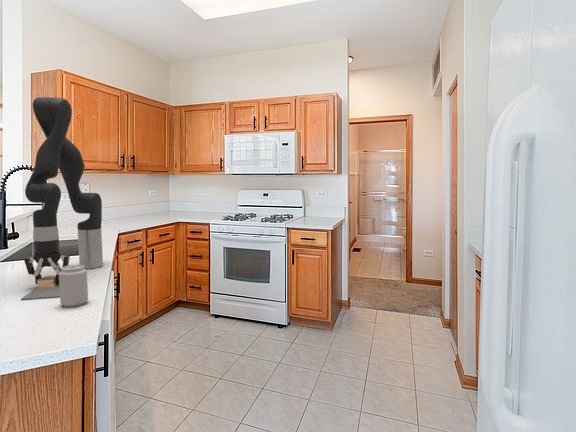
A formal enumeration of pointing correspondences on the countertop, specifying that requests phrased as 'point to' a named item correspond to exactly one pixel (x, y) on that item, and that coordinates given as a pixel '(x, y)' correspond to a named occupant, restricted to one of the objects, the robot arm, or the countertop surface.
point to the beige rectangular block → (46, 282)
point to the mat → (43, 293)
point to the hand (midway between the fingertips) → (49, 284)
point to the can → (73, 285)
